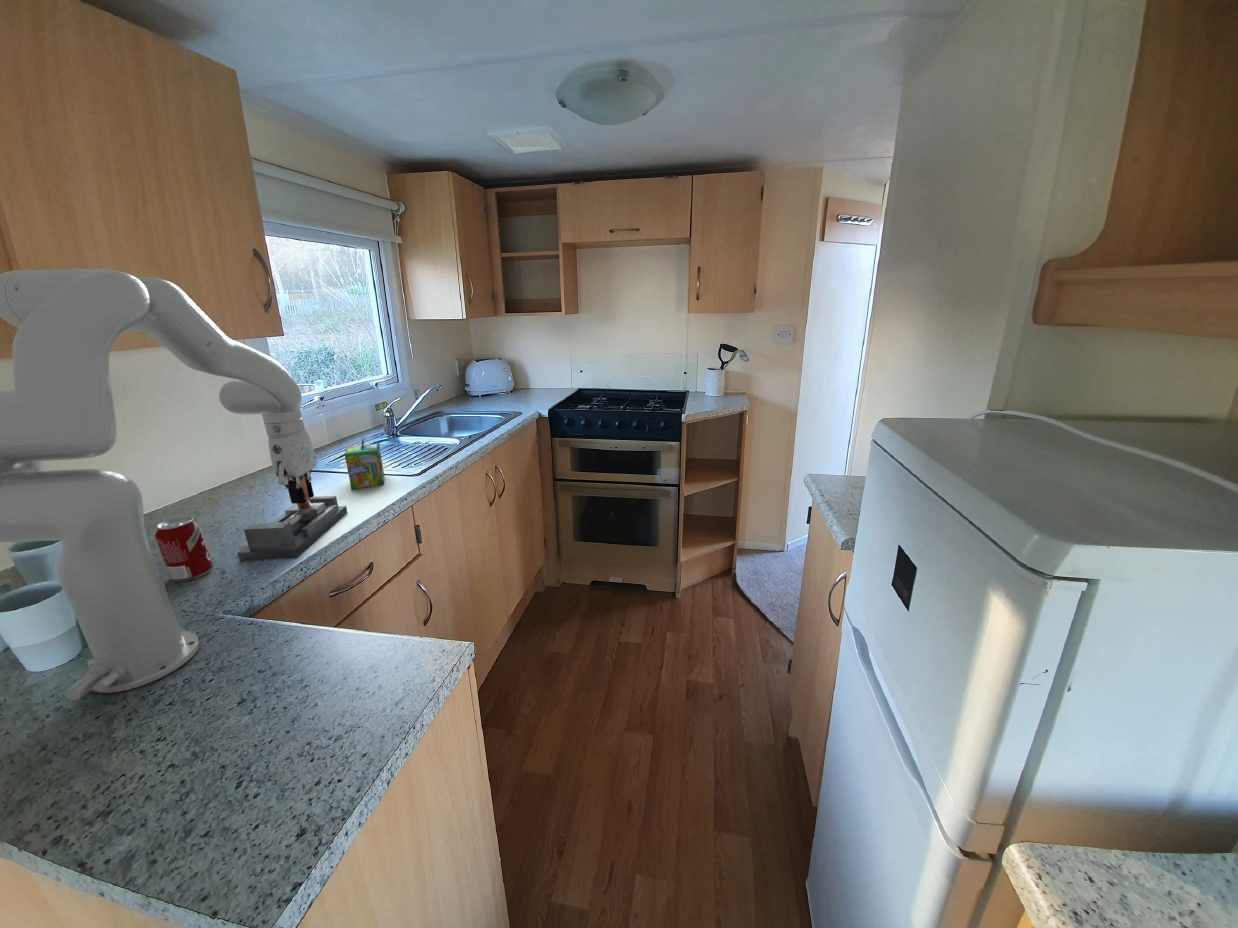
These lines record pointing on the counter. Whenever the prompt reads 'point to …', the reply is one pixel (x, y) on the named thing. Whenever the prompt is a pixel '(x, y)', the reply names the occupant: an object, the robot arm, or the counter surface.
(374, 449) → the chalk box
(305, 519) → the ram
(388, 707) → the counter surface
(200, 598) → the counter surface
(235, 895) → the counter surface
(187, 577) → the soda can
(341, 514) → the base
